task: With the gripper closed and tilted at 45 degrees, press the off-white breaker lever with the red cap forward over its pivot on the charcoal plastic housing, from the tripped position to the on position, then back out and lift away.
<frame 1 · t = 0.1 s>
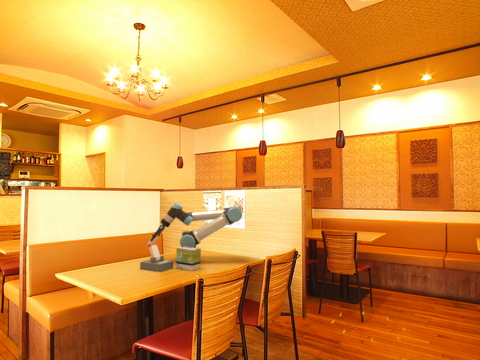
hand: (150, 242, 236), 15 cm above the table, tool tilted 35°, fingers open, 13 cm apart
tea box: (188, 268, 219), on the table
breaker lever: (154, 251, 218), point 12 cm above the table, hinge at -25.0°
breaker housing: (156, 268, 216), on the table
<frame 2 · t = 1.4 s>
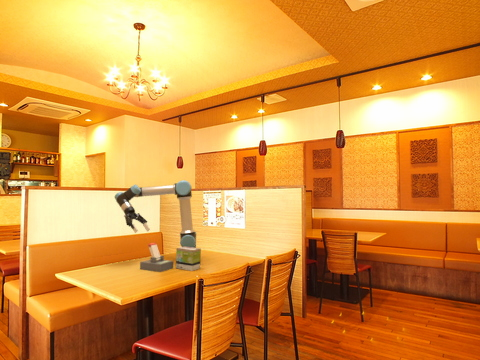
hand: (142, 230, 224), 26 cm above the table, tool tilted 45°, fingers open, 12 cm apart
nothing on the table moved.
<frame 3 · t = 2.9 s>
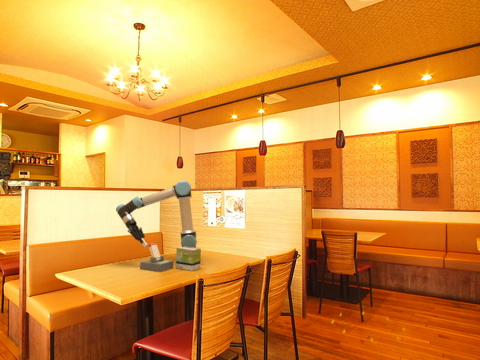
hand: (145, 246, 221), 15 cm above the table, tool tilted 45°, fingers closed
nothing on the table moved.
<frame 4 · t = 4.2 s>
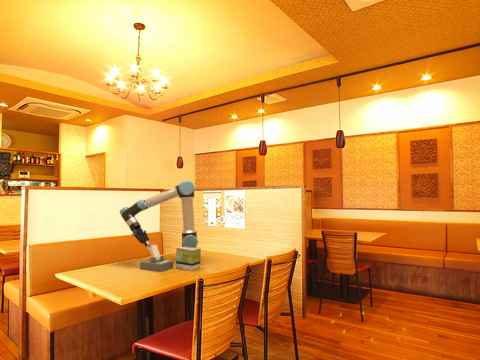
hand: (150, 249, 220), 13 cm above the table, tool tilted 45°, fingers closed
breaker lever: (154, 251, 218), point 12 cm above the table, hinge at -25.0°, touching gripper
everything else where it was.
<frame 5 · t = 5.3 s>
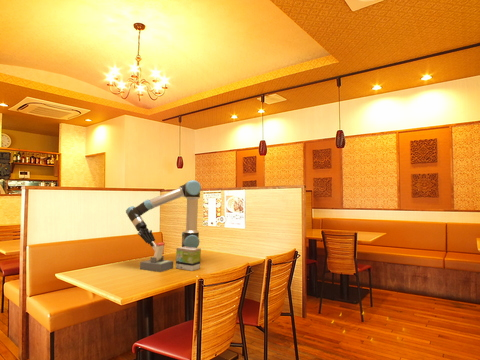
hand: (156, 249, 217), 14 cm above the table, tool tilted 45°, fingers closed
breaker lever: (158, 251, 217), point 12 cm above the table, hinge at 12.8°, touching gripper
everything else where it was.
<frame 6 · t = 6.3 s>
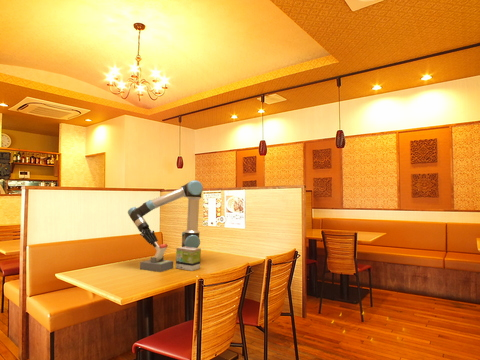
hand: (159, 250, 217), 13 cm above the table, tool tilted 45°, fingers closed
breaker lever: (160, 252, 216), point 11 cm above the table, hinge at 27.8°, touching gripper
everything else where it was.
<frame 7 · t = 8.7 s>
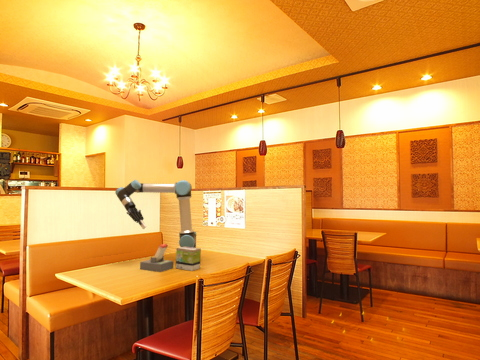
hand: (144, 227, 227), 28 cm above the table, tool tilted 45°, fingers closed
breaker lever: (160, 252, 216), point 11 cm above the table, hinge at 28.0°
everything else where it was.
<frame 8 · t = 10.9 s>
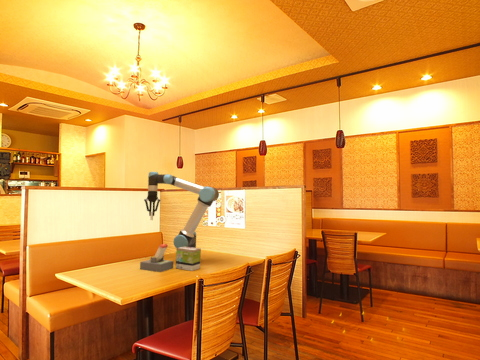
hand: (151, 220, 245), 32 cm above the table, tool pointing down, fingers closed
nothing on the table moved.
at the end: breaker lever at +28° (first picture: -25°); tea box moved 0.3 cm from its start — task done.
